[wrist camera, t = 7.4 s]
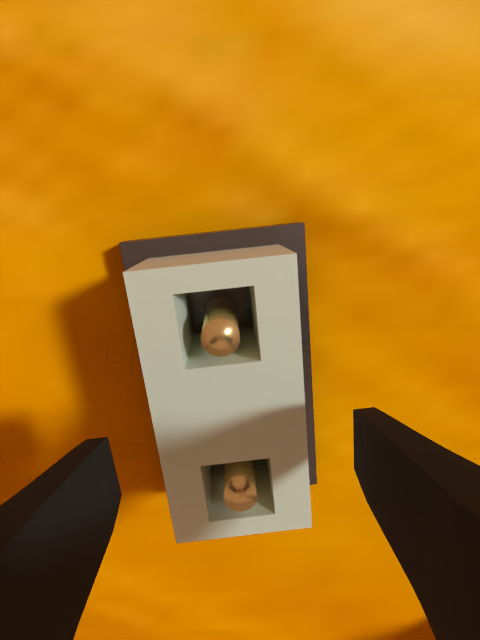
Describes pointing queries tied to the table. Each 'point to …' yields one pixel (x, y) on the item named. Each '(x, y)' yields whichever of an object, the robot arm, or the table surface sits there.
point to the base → (236, 322)
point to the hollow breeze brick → (225, 390)
